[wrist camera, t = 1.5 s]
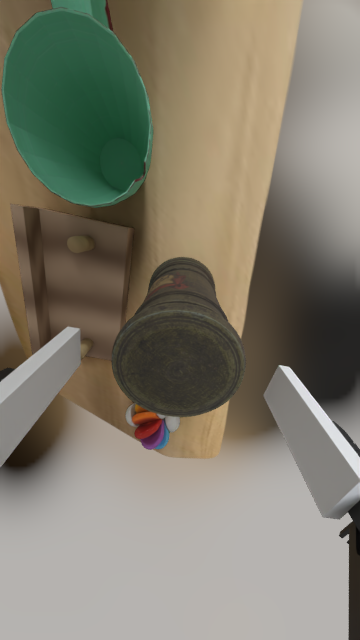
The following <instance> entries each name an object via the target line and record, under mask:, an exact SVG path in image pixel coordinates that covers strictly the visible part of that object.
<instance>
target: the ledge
mask: <svg viewBox="0 0 360 640" xmlns="http://www.w3.org/2000/svg"><path fill="white" fill-rule="evenodd" d="M10 206H11V213H12V219H13V226H14V233H15V240H16V247H17V253H18V260H19V267H20V274H21V280H22V287H23V294H24V301H25V308H26V314H27V321H28V328H29V335H30V341H31V348H32V355H34V354H35V353H36V352H37V351H39V350H40V349H41V348H42V347H43V346H45V345H46V344H47V343H48V342H49V341H51V340H52V339H53V338H54V337H56V336H57V335H58V334H59V333H60V332H62V331H63V330H64V329H65V328H67V327H73V328H79V329H80V345H81V359H83V358H84V356H88V357H94V358H100V359H106V360H112V349H113V345H114V342H115V339H116V337H117V335H118V333H119V332H120V330H121V329H122V327H123V326H124V325H125V322H126V312H127V301H128V290H129V279H130V269H131V258H132V247H133V236H134V228H130V227H126V226H121V225H117V224H112V223H108V222H103V221H99V220H94V219H90V218H85V217H81V216H76V215H72V214H67V213H63V212H58V211H54V210H49V209H44V208H37V207H30V206H23V205H16V204H10Z"/></svg>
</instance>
